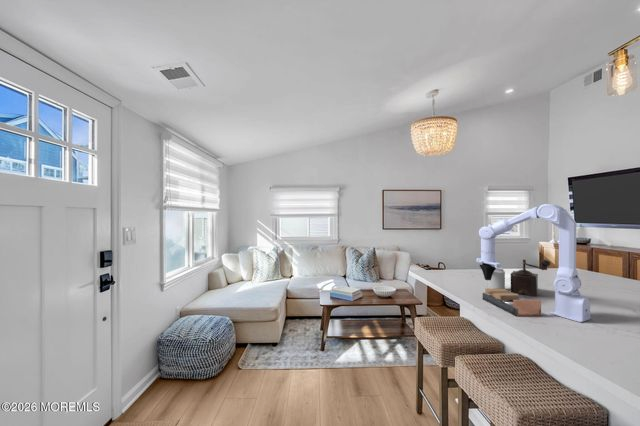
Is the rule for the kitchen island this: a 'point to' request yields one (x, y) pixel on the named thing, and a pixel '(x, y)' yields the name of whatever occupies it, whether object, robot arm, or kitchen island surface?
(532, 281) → the manual coffee grinder
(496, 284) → the can
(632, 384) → the kitchen island surface
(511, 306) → the roller bed
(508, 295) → the tan flat block
